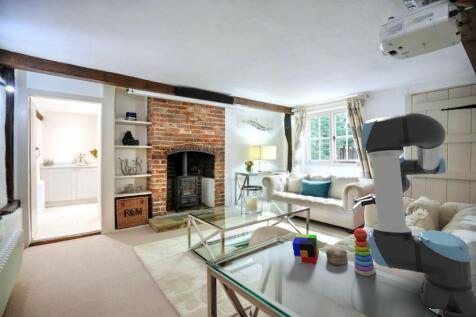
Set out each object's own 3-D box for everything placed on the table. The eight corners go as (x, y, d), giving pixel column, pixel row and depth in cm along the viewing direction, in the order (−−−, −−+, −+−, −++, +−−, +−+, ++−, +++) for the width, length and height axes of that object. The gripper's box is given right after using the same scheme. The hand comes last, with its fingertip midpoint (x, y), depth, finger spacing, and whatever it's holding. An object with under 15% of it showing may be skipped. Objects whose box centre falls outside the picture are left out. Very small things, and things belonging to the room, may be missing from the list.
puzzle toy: (295, 262, 116) (292, 243, 115) (299, 251, 125) (296, 234, 124) (316, 264, 111) (313, 244, 110) (319, 253, 120) (316, 234, 119)
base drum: (352, 262, 108) (350, 254, 107) (334, 268, 106) (333, 259, 105) (339, 253, 116) (338, 246, 116) (323, 258, 115) (322, 251, 114)
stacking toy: (378, 276, 96) (373, 232, 94) (357, 277, 97) (351, 234, 95) (371, 265, 103) (366, 224, 101) (352, 266, 105) (346, 226, 103)
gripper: (422, 205, 104) (402, 229, 93) (365, 197, 124) (343, 215, 113) (420, 190, 102) (400, 212, 91) (362, 184, 123) (340, 201, 112)
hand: (368, 213), depth 102 cm, fingers open, 13 cm apart
